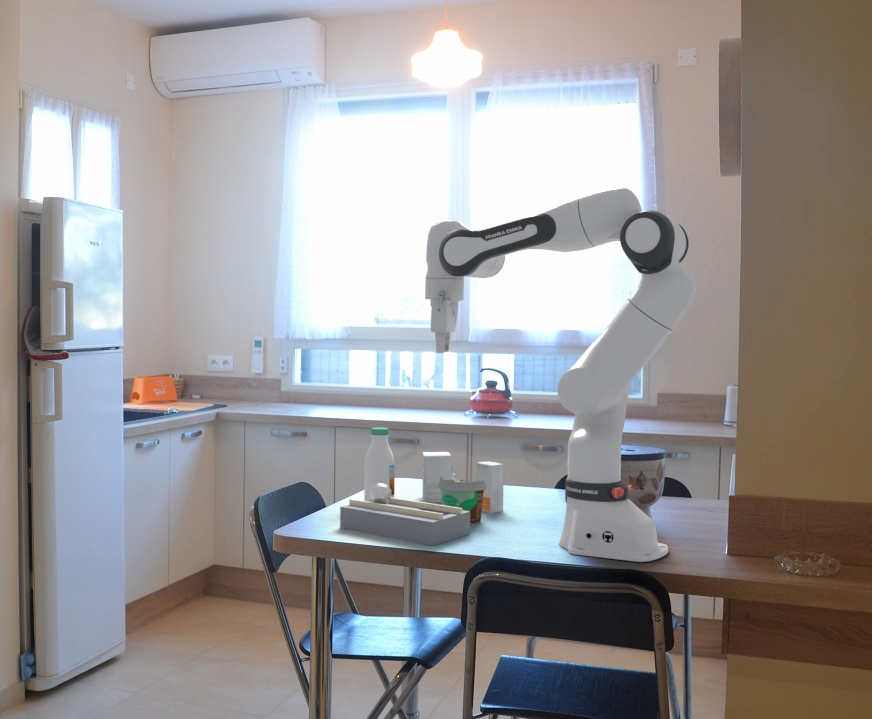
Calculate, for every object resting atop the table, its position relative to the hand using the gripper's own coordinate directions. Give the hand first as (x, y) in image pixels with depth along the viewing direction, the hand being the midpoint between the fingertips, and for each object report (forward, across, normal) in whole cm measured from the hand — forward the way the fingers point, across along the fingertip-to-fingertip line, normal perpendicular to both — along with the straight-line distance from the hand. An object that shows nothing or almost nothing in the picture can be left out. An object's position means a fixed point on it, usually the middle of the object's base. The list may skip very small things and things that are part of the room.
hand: (442, 352), depth 200 cm
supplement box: (+41, +28, +4) cm, 50 cm away
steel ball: (+33, -4, +13) cm, 35 cm away
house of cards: (+41, +49, +2) cm, 64 cm away
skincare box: (+40, +18, -11) cm, 45 cm away
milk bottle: (+41, +20, +17) cm, 49 cm away
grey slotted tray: (+40, -8, +7) cm, 41 cm away
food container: (+40, +3, -4) cm, 41 cm away
